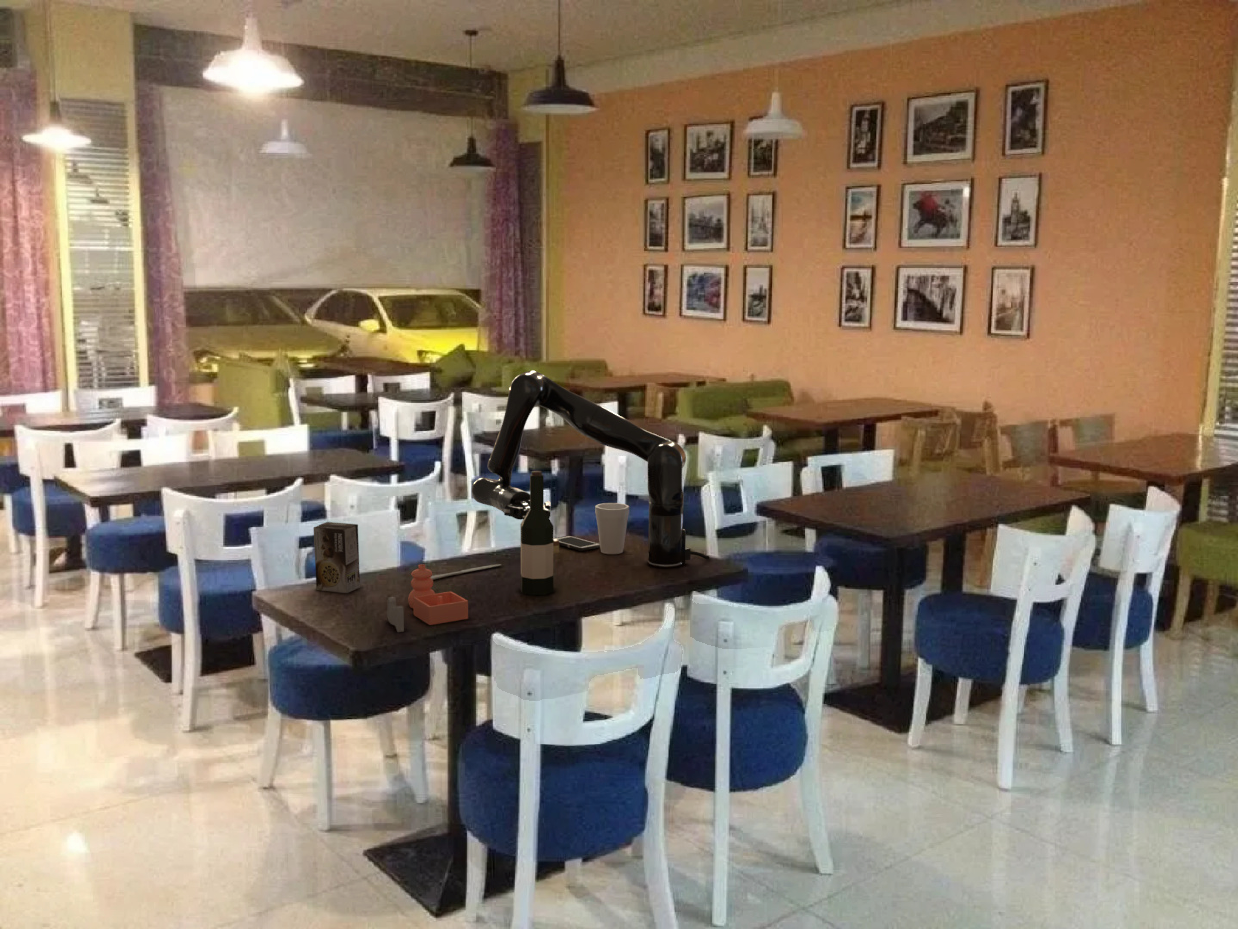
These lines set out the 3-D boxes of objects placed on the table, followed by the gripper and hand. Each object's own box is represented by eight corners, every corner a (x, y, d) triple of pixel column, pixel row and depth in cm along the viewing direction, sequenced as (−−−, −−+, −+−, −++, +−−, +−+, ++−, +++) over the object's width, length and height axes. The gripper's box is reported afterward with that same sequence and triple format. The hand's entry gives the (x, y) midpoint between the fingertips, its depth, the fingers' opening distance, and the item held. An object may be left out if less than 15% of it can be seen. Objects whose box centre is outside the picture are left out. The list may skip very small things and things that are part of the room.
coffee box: (361, 587, 288) (359, 523, 286) (346, 594, 282) (345, 529, 280) (329, 583, 291) (327, 521, 289) (314, 590, 285) (312, 526, 283)
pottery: (468, 618, 264) (467, 576, 262) (429, 625, 259) (428, 582, 257) (435, 599, 279) (435, 559, 277) (398, 605, 274) (397, 564, 272)
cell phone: (568, 538, 342) (568, 535, 342) (602, 547, 331) (602, 544, 331) (548, 542, 337) (548, 539, 337) (581, 551, 326) (581, 548, 326)
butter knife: (420, 577, 296) (426, 579, 294) (498, 562, 311) (504, 565, 309) (420, 578, 296) (426, 581, 294) (498, 564, 311) (504, 566, 309)
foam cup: (594, 547, 332) (594, 503, 329) (626, 547, 333) (626, 502, 330) (597, 555, 322) (597, 510, 320) (630, 555, 323) (630, 509, 321)
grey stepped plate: (397, 632, 253) (386, 619, 262) (404, 632, 254) (392, 618, 263) (397, 607, 252) (386, 595, 261) (403, 606, 253) (392, 594, 262)
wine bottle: (548, 596, 282) (548, 475, 277) (516, 594, 284) (515, 473, 279) (557, 587, 290) (557, 469, 285) (525, 585, 292) (525, 468, 287)
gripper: (490, 491, 305) (517, 503, 290) (538, 486, 311) (567, 498, 297) (490, 518, 306) (517, 532, 291) (538, 514, 313) (567, 527, 298)
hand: (542, 515), depth 294 cm, fingers closed on brush, 2 cm apart
